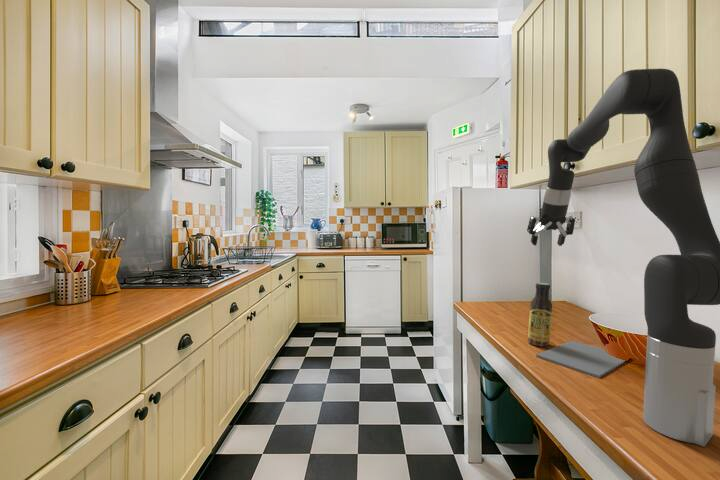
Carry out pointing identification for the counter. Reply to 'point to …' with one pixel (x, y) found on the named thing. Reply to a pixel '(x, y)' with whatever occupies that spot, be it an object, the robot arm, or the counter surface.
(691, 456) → the counter surface
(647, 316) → the robot arm
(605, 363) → the mat
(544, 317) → the sauce bottle
